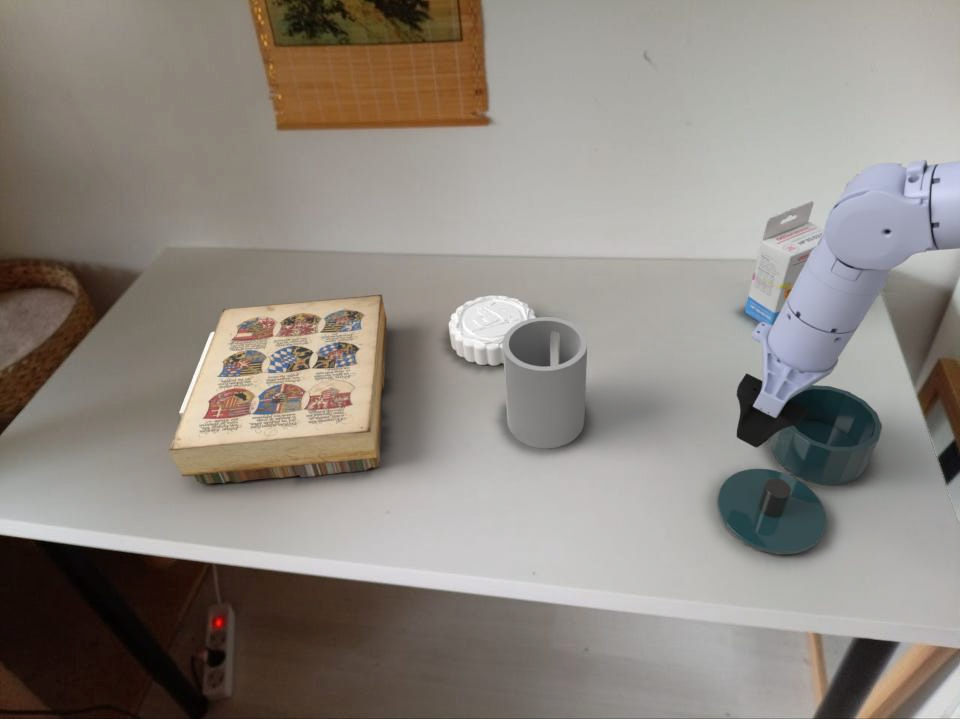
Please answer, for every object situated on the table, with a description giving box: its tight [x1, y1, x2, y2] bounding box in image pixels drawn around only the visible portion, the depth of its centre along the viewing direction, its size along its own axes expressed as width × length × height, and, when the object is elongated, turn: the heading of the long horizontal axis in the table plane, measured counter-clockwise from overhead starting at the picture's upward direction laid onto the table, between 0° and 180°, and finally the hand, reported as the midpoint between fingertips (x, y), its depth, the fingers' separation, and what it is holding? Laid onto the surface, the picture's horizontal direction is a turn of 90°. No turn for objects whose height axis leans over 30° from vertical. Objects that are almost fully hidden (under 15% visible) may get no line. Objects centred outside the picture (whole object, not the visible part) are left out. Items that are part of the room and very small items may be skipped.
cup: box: [503, 316, 588, 450], centre depth 78 cm, size 9×9×12 cm
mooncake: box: [448, 294, 537, 367], centre depth 93 cm, size 12×12×4 cm
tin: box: [770, 384, 883, 486], centre depth 73 cm, size 10×10×5 cm
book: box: [168, 294, 388, 485], centre depth 86 cm, size 25×6×28 cm
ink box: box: [744, 200, 824, 325], centre depth 89 cm, size 8×5×15 cm, turn 119°
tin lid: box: [716, 468, 827, 555], centre depth 68 cm, size 10×10×4 cm
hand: (762, 414), depth 65 cm, fingers open, 7 cm apart
